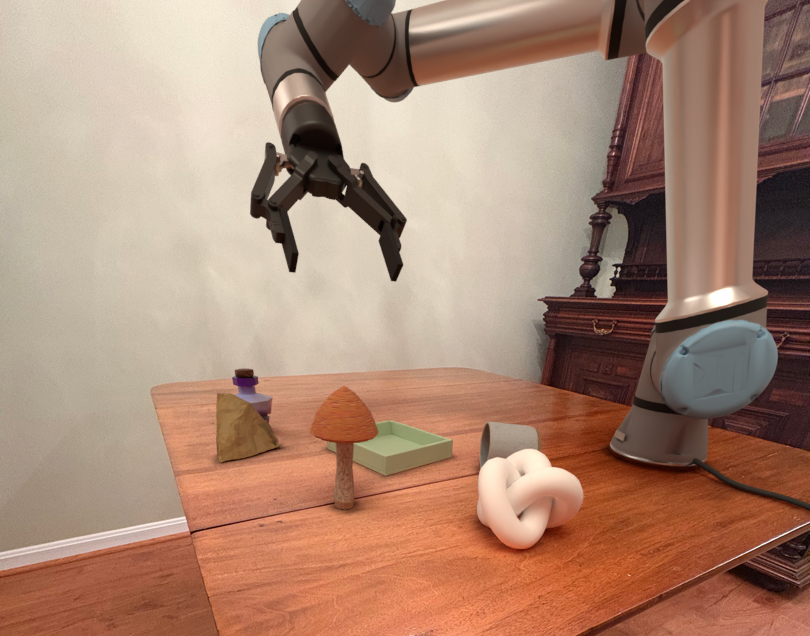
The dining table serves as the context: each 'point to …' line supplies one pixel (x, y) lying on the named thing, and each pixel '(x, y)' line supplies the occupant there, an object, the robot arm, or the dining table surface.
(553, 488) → the white knot sculpture
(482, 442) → the ceramic mug
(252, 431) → the rock
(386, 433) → the tray
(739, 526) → the dining table surface
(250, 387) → the potion bottle
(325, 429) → the mushroom
